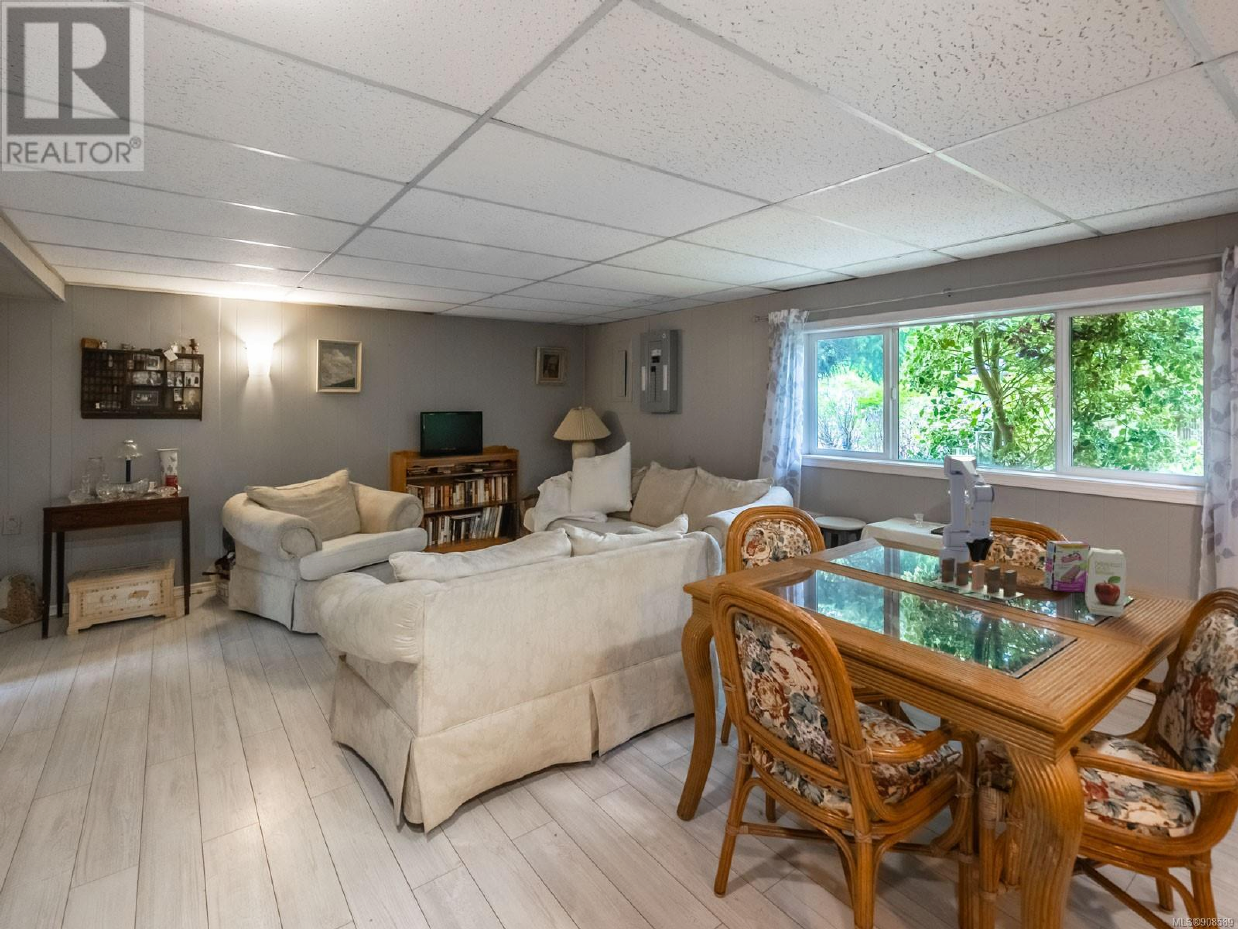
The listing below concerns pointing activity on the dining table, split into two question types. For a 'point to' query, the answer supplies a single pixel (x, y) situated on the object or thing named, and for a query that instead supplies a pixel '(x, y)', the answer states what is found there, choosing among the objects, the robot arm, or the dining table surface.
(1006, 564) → the dining table surface
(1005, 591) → the domino
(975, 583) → the domino
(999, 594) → the board
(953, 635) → the dining table surface
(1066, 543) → the candy bar box
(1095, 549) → the juice carton
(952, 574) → the domino
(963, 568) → the domino
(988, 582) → the domino
